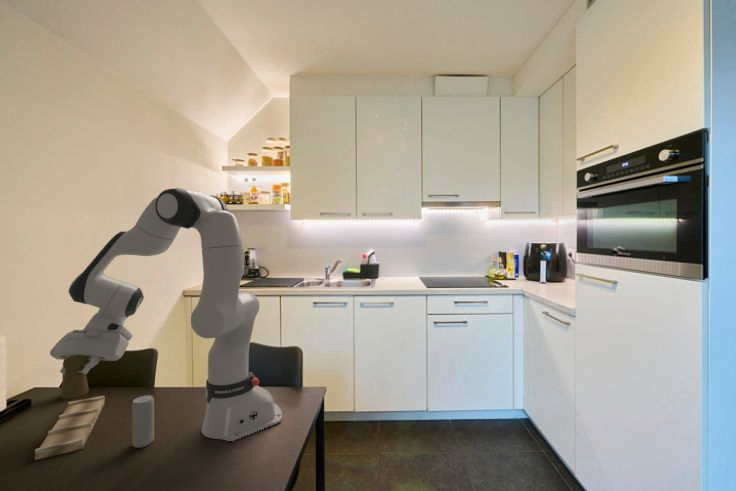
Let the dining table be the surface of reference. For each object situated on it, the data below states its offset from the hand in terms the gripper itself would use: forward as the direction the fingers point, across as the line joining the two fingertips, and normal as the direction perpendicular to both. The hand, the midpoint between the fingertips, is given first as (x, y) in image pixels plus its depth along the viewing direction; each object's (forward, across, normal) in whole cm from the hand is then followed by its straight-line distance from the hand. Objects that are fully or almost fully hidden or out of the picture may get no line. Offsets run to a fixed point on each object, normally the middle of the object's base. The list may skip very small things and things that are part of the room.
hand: (73, 373), depth 93 cm
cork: (+4, 0, +5) cm, 6 cm away
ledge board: (+11, 0, +12) cm, 16 cm away
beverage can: (+16, +26, +7) cm, 31 cm away
